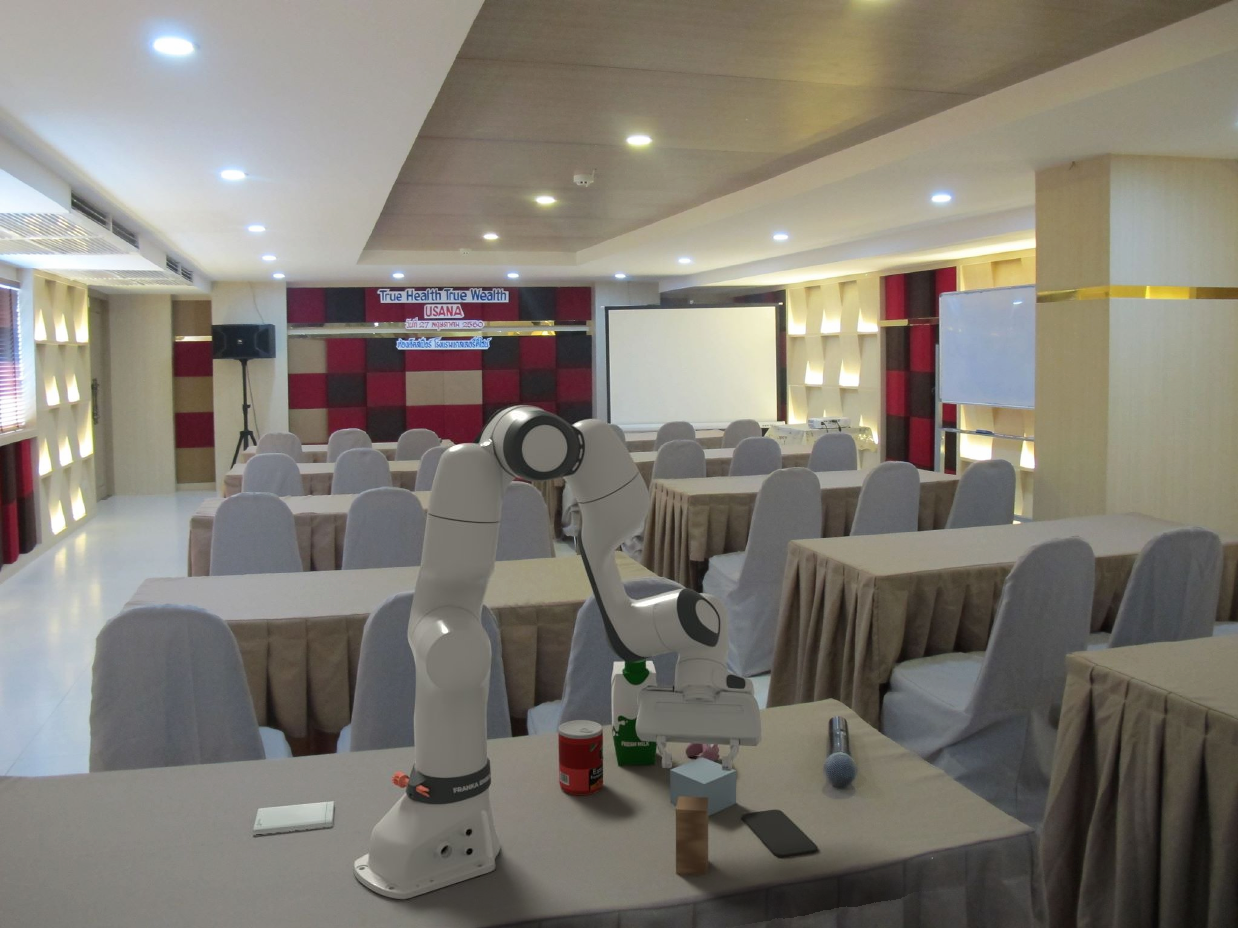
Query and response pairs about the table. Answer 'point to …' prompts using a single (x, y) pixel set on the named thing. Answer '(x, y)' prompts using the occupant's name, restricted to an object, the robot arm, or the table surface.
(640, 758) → the milk carton
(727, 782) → the base block
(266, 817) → the hard drive
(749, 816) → the phone
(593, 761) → the canned food
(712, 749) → the video game controller
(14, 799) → the table surface
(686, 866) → the walnut post
